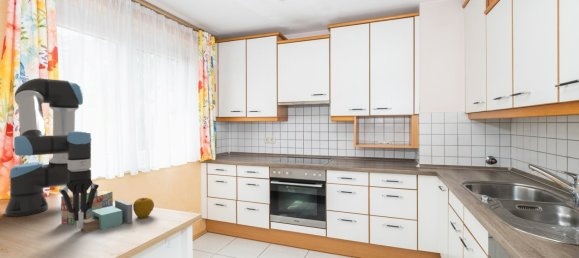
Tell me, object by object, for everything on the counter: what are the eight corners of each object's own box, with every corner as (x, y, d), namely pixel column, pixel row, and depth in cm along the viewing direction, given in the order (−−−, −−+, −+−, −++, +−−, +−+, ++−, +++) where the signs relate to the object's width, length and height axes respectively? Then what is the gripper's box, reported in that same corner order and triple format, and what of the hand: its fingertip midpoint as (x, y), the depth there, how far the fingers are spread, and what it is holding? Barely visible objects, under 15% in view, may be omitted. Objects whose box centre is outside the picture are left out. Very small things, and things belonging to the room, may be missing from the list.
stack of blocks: (102, 208, 141) (102, 184, 140) (113, 209, 140) (113, 185, 139) (61, 224, 120) (60, 195, 119) (73, 225, 119) (73, 196, 118)
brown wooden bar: (81, 230, 113) (81, 220, 113) (108, 223, 122) (108, 214, 122) (84, 233, 111) (84, 223, 111) (112, 225, 119) (112, 216, 119)
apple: (157, 213, 134) (157, 195, 134) (147, 220, 126) (147, 200, 125) (139, 213, 134) (139, 195, 134) (129, 219, 126) (129, 200, 126)
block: (91, 224, 120) (91, 210, 120) (111, 219, 126) (111, 205, 126) (101, 229, 114) (101, 215, 114) (122, 224, 120) (122, 210, 120)
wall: (115, 217, 128) (115, 200, 128) (119, 216, 130) (119, 199, 130) (127, 223, 121) (127, 205, 121) (132, 222, 123) (132, 204, 123)
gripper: (62, 173, 104) (63, 235, 105) (101, 168, 115) (102, 225, 115) (55, 170, 108) (56, 230, 109) (94, 166, 119) (94, 221, 120)
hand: (79, 227), depth 112 cm, fingers closed
